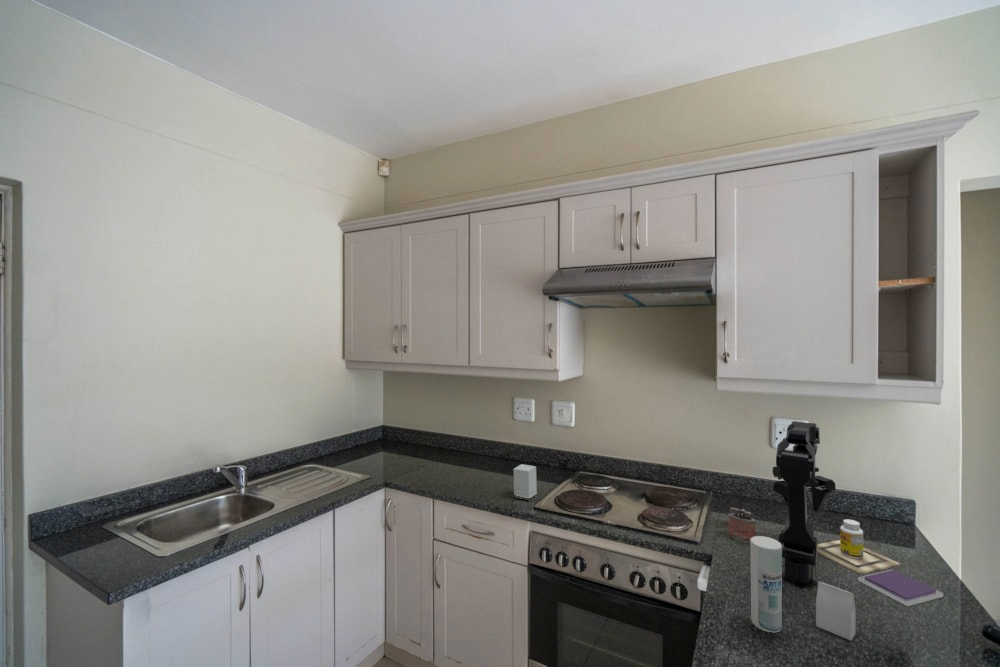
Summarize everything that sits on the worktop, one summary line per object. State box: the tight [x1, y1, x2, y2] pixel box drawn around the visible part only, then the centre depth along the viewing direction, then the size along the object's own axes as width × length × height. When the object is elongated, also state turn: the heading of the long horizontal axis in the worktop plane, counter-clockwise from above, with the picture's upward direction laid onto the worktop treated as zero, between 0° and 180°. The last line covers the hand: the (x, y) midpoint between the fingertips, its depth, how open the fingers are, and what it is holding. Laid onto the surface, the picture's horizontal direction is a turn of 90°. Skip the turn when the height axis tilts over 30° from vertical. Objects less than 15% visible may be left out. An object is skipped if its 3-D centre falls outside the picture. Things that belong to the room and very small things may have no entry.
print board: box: [817, 539, 901, 576], centre depth 138 cm, size 16×16×1 cm
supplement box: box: [512, 463, 538, 498], centre depth 189 cm, size 7×7×13 cm
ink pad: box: [857, 568, 944, 607], centre depth 121 cm, size 13×12×2 cm
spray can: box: [749, 535, 783, 633], centre depth 107 cm, size 6×6×20 cm
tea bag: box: [815, 581, 856, 642], centre depth 106 cm, size 4×7×10 cm, turn 41°
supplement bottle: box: [839, 519, 864, 559], centre depth 138 cm, size 6×6×10 cm
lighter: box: [728, 507, 756, 544], centre depth 150 cm, size 8×3×10 cm, turn 47°
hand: (804, 513), depth 139 cm, fingers open, 9 cm apart
